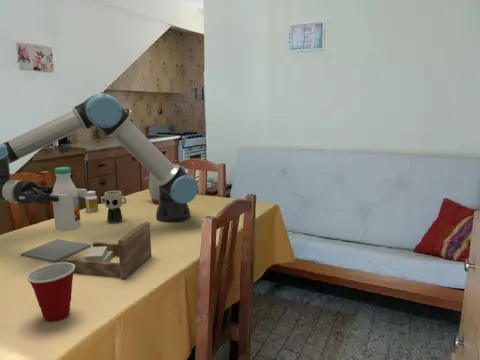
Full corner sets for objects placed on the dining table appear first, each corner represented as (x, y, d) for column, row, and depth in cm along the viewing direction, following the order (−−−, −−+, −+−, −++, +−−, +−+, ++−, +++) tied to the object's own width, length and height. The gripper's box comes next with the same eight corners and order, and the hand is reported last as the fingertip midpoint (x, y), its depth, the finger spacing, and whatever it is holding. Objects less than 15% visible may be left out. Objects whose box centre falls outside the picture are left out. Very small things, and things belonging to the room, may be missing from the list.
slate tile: (91, 246, 146) (90, 244, 146) (55, 262, 132) (55, 260, 132) (57, 241, 152) (57, 238, 152) (20, 256, 138) (20, 253, 138)
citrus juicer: (147, 198, 216) (145, 161, 212) (180, 197, 218) (179, 160, 214) (143, 206, 201) (141, 166, 197) (179, 205, 203) (177, 165, 199)
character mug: (99, 224, 173) (97, 194, 170) (105, 219, 180) (103, 190, 177) (125, 224, 172) (123, 194, 170) (129, 219, 179) (128, 190, 177)
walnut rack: (151, 256, 136) (149, 222, 134) (125, 279, 119) (122, 240, 117) (96, 252, 141) (94, 218, 138) (64, 273, 124) (60, 236, 121)
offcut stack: (113, 257, 137) (113, 245, 136) (102, 269, 127) (101, 256, 127) (94, 256, 138) (93, 245, 137) (81, 269, 128) (80, 256, 127)
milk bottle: (69, 232, 128) (63, 170, 124) (50, 230, 130) (43, 169, 126) (85, 225, 135) (80, 166, 131) (66, 223, 138) (61, 165, 134)
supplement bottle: (100, 210, 193) (99, 190, 191) (93, 213, 188) (91, 193, 186) (91, 209, 195) (89, 190, 193) (83, 212, 190) (82, 192, 188)
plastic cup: (41, 305, 104) (36, 261, 102) (84, 303, 105) (81, 260, 103) (23, 329, 94) (17, 280, 91) (71, 326, 95) (66, 278, 92)
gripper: (45, 195, 146) (99, 200, 139) (-4, 210, 127) (54, 216, 120) (43, 175, 145) (97, 178, 138) (-7, 187, 126) (52, 191, 119)
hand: (77, 196), depth 129 cm, fingers closed on milk bottle, 8 cm apart
